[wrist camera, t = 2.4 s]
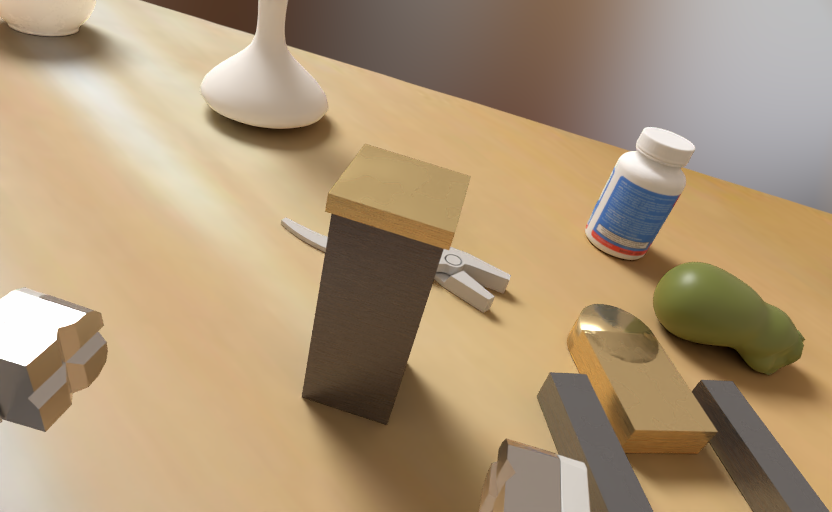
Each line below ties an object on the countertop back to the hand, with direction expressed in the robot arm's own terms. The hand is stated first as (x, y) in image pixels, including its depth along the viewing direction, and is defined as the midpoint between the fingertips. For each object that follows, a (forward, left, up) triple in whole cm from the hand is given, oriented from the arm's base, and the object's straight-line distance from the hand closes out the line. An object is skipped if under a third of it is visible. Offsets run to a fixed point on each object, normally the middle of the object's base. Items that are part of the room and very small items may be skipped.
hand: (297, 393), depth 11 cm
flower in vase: (-3, +44, -13) cm, 46 cm away
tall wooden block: (+4, +12, -13) cm, 18 cm away
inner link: (+20, +12, -13) cm, 27 cm away
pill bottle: (+27, +28, -14) cm, 41 cm away
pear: (+29, +16, -14) cm, 36 cm away
